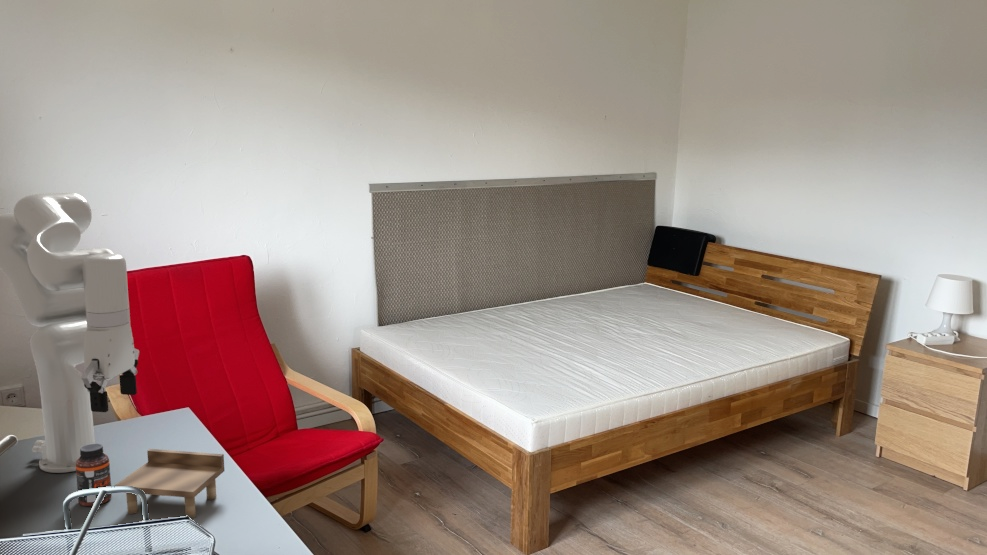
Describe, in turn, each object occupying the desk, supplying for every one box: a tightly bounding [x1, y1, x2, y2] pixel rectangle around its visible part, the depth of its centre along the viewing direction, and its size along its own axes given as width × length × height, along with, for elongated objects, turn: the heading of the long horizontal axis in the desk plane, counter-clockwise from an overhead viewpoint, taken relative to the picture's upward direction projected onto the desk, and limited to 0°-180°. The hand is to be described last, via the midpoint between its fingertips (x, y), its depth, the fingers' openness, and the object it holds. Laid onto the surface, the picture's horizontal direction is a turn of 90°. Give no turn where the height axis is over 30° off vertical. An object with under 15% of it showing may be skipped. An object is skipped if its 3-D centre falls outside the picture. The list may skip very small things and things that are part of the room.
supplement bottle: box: [75, 443, 113, 507], centre depth 152 cm, size 6×6×11 cm
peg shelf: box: [114, 448, 225, 520], centre depth 151 cm, size 16×12×9 cm
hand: (114, 402), depth 152 cm, fingers open, 9 cm apart
